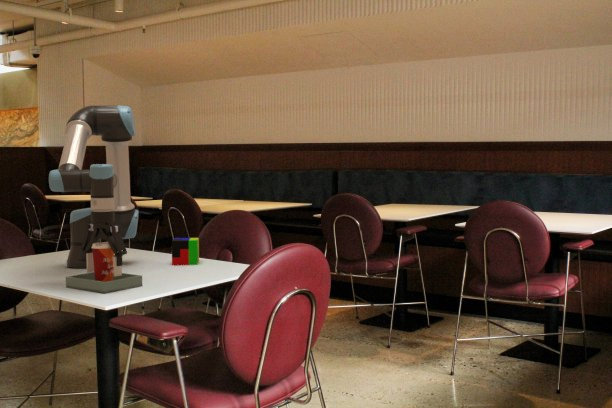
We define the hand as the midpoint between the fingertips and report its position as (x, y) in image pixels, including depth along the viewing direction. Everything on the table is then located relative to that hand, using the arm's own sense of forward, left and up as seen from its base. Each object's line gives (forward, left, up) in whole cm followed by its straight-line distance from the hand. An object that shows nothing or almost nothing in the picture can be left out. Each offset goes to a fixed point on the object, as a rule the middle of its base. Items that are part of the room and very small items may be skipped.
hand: (104, 274), depth 228 cm
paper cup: (0, 0, -4) cm, 4 cm away
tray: (0, 0, -4) cm, 4 cm away
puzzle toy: (-13, +52, -4) cm, 54 cm away
